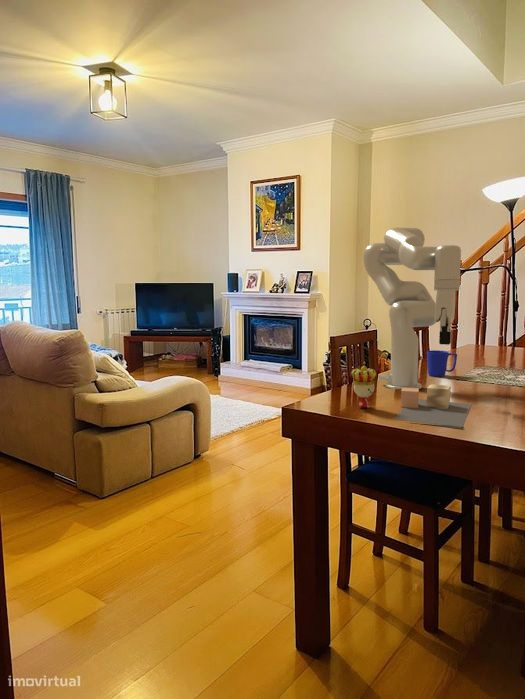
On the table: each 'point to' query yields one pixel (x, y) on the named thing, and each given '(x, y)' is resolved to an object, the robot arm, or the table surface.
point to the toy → (364, 385)
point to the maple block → (438, 396)
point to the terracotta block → (409, 397)
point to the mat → (436, 415)
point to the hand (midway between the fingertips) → (444, 344)
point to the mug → (438, 362)
